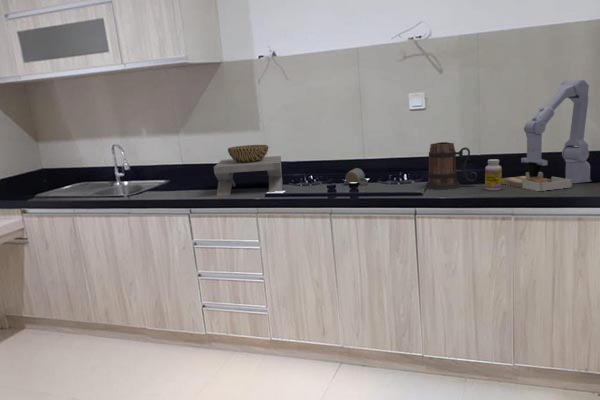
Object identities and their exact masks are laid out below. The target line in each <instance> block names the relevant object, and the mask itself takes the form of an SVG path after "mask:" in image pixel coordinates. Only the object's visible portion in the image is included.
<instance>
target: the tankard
mask: <svg viewBox="0 0 600 400" xmlns="http://www.w3.org/2000/svg"><path fill="white" fill-rule="evenodd" d="M464 150H466V151H467V156H466V158H465V159H464V157H465V156H463V151H464ZM457 155H458V156H459V157H460V158H461V159H464V163H463V166H462V167H463V170H462V171H463V175H464V178H465V179H466V180H467V181H468V182H474V181H476V180H477V179H478V173H477V172H476V171H471V172H470V174H469V175H470V176H468V175H467V171H466V164H467V162H468V160H469V158H470V155H471V151H470V149H469V148H468V147H465V146H464V147H462V148H461V149H460V150H459V151H456V149H455V144H454V142H448V141H447V142H446V141H444V142H443V141H441V142H435V143H430V145H429V152H428V175H427V177H428V181H427V182H426V183H425V185H424V187H425V186H426V188H428V189H427V190H431V189H433V191H449V190H448V189H451V190H457V189H460V188H462V185H461V184H460V182H459V181H458V172H457V161H456V160H457V158H456V157H457ZM472 175H473V176H472ZM469 177H471V178H469ZM426 188H425V189H426Z"/></svg>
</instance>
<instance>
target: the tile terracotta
mask: <svg viewBox="0 0 600 400" xmlns="http://www.w3.org/2000/svg"><path fill="white" fill-rule="evenodd" d="M546 179H547V178H546ZM546 179H544V177H543V178H542V177H541V176H537V177H530V180H529V181H532V182H537V183H547V182H548V181H547V180H546Z"/></svg>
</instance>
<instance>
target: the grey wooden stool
mask: <svg viewBox="0 0 600 400" xmlns="http://www.w3.org/2000/svg"><path fill="white" fill-rule="evenodd" d="M268 151H269V145H267V144H250V145H249V144H248V145H237V146H231V147H228V148H227V153H228V155H229V156H230V157H231V158H230V159H227V158H226V159H221V160H219V161H218V162H217V163H216V165H214V166H213V172H214V176H215V177H216V179H217V181H218V183H217V190H216V197H221V196H222V197H223V196H230V195H231V194H232V188H235V186H236V183H235V180H234V179H233V177H234V176H233V175H234V173H243V172H247V173H248V172H261V171H262V172H263V171H267V172H266V173H267V175H268V193H276V192H275V191H282V192H283V176H282V174H283V173H282V156H281V155H276V156H266V155H267V153H268Z"/></svg>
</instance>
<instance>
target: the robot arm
mask: <svg viewBox="0 0 600 400" xmlns="http://www.w3.org/2000/svg"><path fill="white" fill-rule="evenodd" d="M589 87H590V85H589V84H588V82H587V81H586V80H584V79H576V80H563V81H562V82H561V84H559V86H558V87H557V91H556V92H555V94H554V96H552V98H551V100H550V101H549V103H548V104H547V105H546V106H542V107H540V108H539V110H538V112H537V113H536V114H535V115H534V116H533V117H532V119H531V120H528V121H527V122H526V123H525V125H524V127H523V130H524V133H525V136H526V157H521V158H520V162H521V163H526V164H525V168H526V169H527V172H529V175H530V177H537V176H538V173H539V172H541V169H542V168H543V166H548V165H549V164H548V160H546V159H543V158H542V150H543V149H542V145H543V142H542V139H543V137H542V136H543V135H542V134H543V133H545V131H546V127H547V124H548V123H549V121H551V120H552V118H553V117H554V115H555V110H556V109H558V107H559V106H560V105H561V104H562V103H563V102H564V101H565V100H566V99H567V98H568V99H569V100H570V101H572V102H573V106H572V107H573V108H572V115H571V124H570V130H569V131H570V132H569V133H570V134H569V139H568V140H567V141H566V142H565V143H564V147H563V148H562V151H561V157H562V158H563V159H564V162H565V179H570V180H572V184H580V183H589V182H592V179H591V164H590V163H589V162H588V161H587V160H588V158H589V157H590V151H589V144H588V143H587V142H586V141H585V140H584V138H585V131H586V123H587V122H586V121H587V114H588V107H589V106H588V105H589V89H590V88H589Z"/></svg>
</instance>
